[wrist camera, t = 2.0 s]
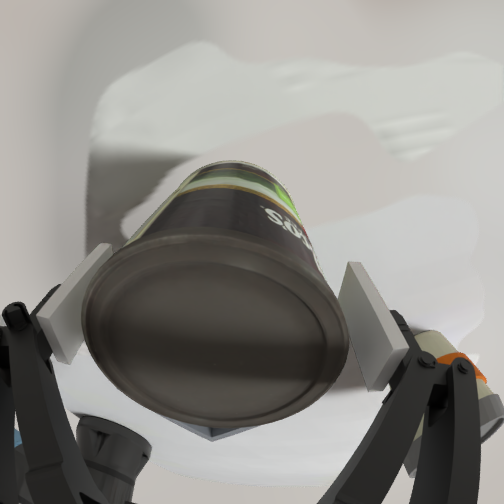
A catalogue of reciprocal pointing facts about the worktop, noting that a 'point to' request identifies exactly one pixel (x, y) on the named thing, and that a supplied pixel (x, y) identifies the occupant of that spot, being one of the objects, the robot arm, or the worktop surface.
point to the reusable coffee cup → (488, 402)
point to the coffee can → (218, 306)
